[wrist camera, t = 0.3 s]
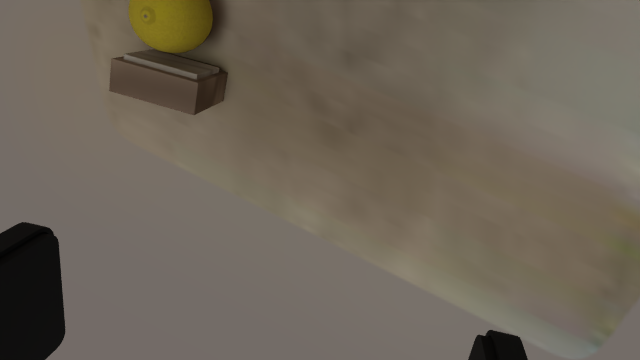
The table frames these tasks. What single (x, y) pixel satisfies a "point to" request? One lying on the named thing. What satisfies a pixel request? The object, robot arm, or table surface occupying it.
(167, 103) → the open brown box
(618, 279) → the table surface
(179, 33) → the lemon
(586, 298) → the table surface
